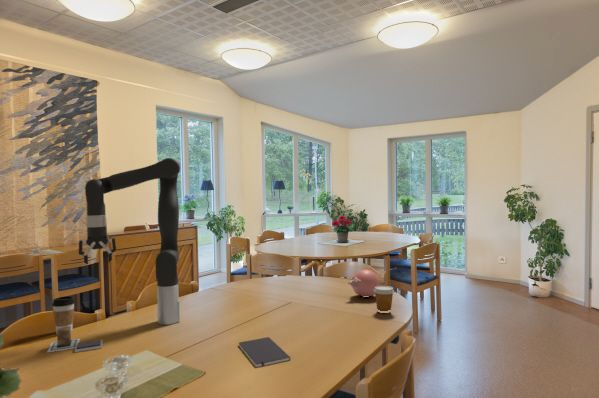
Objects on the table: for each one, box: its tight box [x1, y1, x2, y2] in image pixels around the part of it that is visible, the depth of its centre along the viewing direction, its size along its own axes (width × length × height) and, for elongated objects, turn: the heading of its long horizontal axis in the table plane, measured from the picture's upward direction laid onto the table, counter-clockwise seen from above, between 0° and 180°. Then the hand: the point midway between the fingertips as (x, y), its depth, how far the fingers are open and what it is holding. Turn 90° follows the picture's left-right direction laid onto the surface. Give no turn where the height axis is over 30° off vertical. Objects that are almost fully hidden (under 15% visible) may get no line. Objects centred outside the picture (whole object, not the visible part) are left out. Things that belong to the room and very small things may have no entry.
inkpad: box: [74, 339, 104, 353], centre depth 148 cm, size 9×6×1 cm
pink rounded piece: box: [347, 269, 381, 297], centre depth 213 cm, size 15×20×15 cm
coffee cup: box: [51, 295, 76, 335], centre depth 164 cm, size 8×8×15 cm
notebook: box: [238, 336, 291, 368], centre depth 142 cm, size 13×2×21 cm
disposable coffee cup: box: [374, 285, 395, 311], centre depth 187 cm, size 10×10×12 cm
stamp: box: [56, 326, 73, 348], centre depth 150 cm, size 4×4×6 cm
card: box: [46, 338, 81, 354], centre depth 150 cm, size 10×10×1 cm
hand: (98, 263), depth 166 cm, fingers open, 8 cm apart
